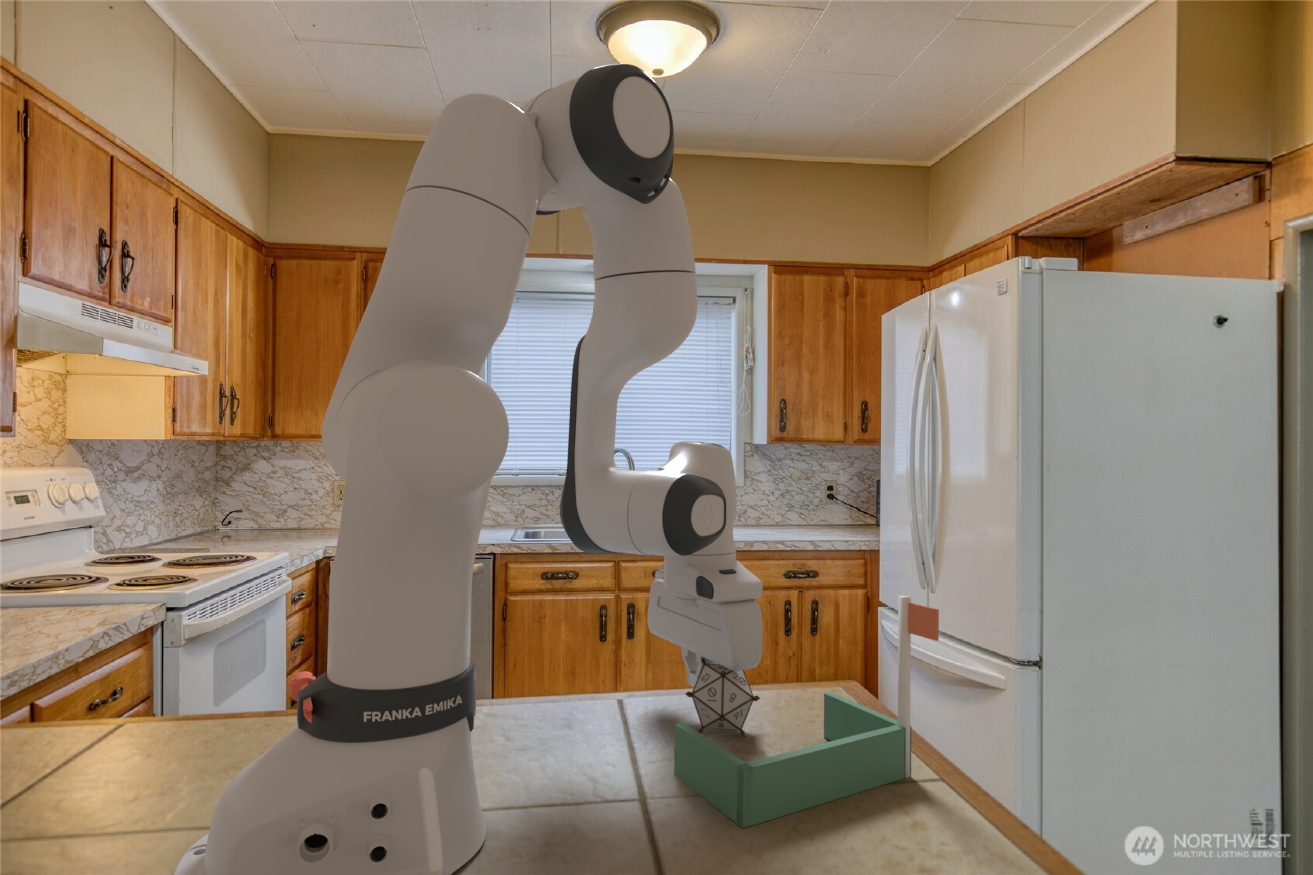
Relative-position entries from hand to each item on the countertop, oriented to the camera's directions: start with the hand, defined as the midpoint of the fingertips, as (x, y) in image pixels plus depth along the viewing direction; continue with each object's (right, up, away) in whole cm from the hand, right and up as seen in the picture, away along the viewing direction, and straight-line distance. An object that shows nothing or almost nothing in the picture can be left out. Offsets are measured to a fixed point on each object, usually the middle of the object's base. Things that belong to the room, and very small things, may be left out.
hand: (698, 687), depth 86 cm
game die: (+2, -4, -4) cm, 6 cm away
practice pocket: (+9, -3, -17) cm, 20 cm away
